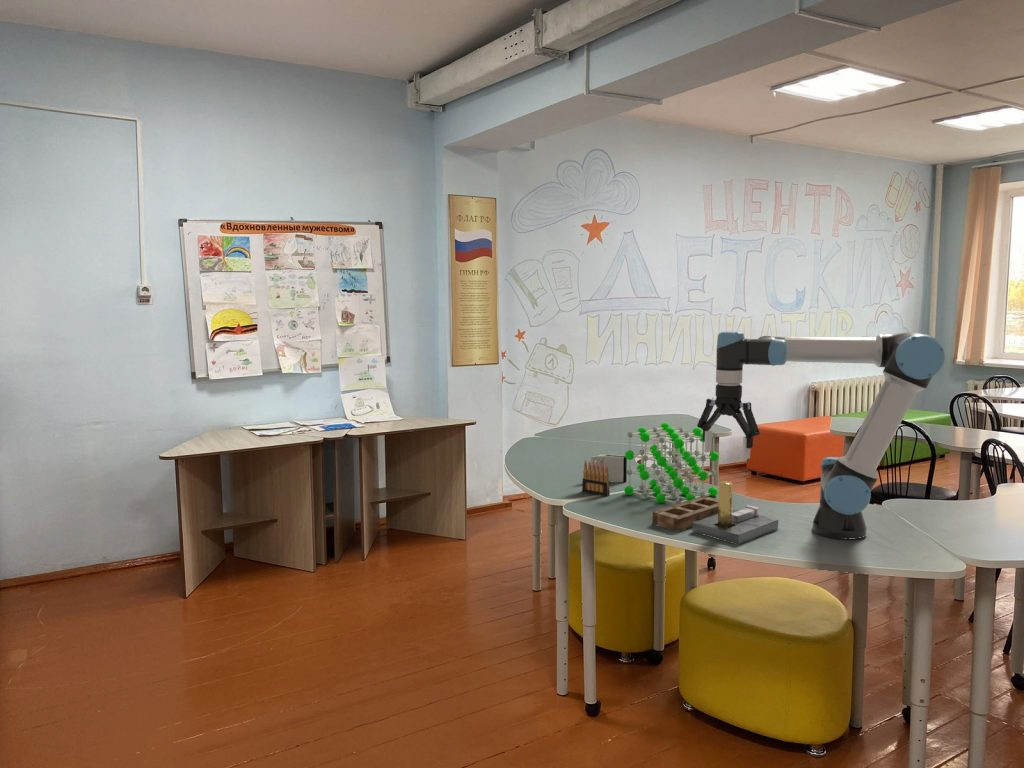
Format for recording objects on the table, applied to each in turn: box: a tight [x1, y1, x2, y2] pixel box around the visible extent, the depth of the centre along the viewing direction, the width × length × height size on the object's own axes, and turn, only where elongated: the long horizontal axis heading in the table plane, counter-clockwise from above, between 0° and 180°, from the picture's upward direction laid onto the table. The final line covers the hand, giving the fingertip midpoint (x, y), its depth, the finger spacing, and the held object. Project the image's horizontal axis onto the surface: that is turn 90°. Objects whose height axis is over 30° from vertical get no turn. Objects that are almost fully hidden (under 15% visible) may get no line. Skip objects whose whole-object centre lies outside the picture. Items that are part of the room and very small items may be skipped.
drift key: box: [732, 504, 761, 523], centre depth 235 cm, size 4×12×2 cm, turn 131°
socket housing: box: [691, 508, 779, 545], centre depth 232 cm, size 16×22×3 cm
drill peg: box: [718, 480, 734, 529], centre depth 228 cm, size 4×4×16 cm
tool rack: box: [651, 495, 719, 532], centre depth 244 cm, size 10×28×4 cm, turn 131°
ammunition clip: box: [581, 459, 611, 497], centre depth 275 cm, size 11×2×12 cm, turn 53°
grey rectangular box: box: [590, 454, 628, 483], centre depth 294 cm, size 14×5×10 cm, turn 84°
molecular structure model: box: [623, 422, 720, 505], centre depth 271 cm, size 24×25×24 cm
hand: (726, 455), depth 226 cm, fingers open, 12 cm apart
